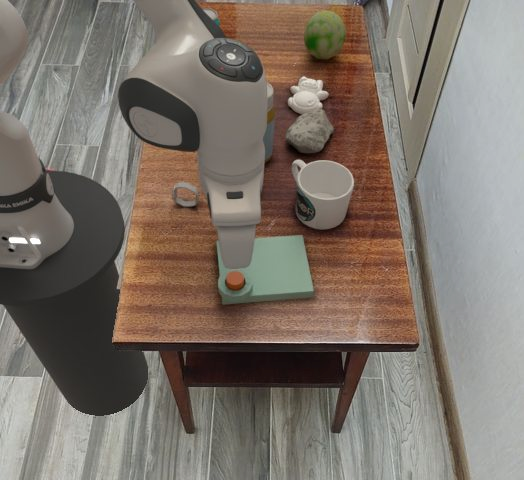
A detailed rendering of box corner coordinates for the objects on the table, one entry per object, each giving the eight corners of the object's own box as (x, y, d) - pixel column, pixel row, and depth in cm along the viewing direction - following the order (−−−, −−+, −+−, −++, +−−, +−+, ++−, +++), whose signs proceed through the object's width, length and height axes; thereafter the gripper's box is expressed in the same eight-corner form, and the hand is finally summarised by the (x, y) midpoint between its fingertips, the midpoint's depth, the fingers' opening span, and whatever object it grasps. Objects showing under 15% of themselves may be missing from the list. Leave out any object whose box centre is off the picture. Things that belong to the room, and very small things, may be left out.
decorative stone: (337, 158, 115) (341, 138, 111) (286, 159, 114) (287, 139, 110) (330, 120, 121) (333, 100, 117) (282, 121, 121) (283, 100, 116)
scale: (220, 309, 95) (219, 297, 92) (214, 247, 102) (213, 234, 99) (313, 301, 96) (315, 289, 93) (301, 241, 103) (303, 228, 100)
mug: (358, 212, 107) (366, 180, 100) (322, 240, 103) (327, 209, 96) (308, 177, 112) (312, 144, 105) (272, 202, 108) (274, 170, 101)
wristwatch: (176, 197, 108) (173, 178, 104) (201, 201, 108) (199, 181, 103) (172, 208, 106) (169, 188, 102) (197, 211, 106) (195, 192, 102)
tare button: (227, 291, 93) (227, 285, 92) (225, 277, 94) (225, 271, 93) (244, 289, 93) (244, 284, 92) (243, 275, 95) (243, 270, 93)
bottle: (277, 150, 116) (281, 84, 103) (263, 170, 112) (266, 105, 100) (248, 140, 117) (248, 74, 104) (233, 160, 114) (232, 94, 101)
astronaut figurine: (332, 87, 127) (334, 75, 124) (317, 118, 121) (319, 106, 119) (297, 79, 128) (298, 66, 126) (280, 109, 123) (281, 97, 120)
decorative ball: (343, 46, 136) (350, 4, 127) (340, 70, 131) (347, 27, 122) (303, 42, 136) (307, -1, 128) (299, 65, 131) (303, 23, 123)
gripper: (203, 119, 78) (206, 192, 90) (212, 227, 68) (215, 293, 80) (247, 118, 79) (245, 190, 91) (262, 225, 69) (258, 290, 81)
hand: (231, 239), depth 85 cm, fingers closed
